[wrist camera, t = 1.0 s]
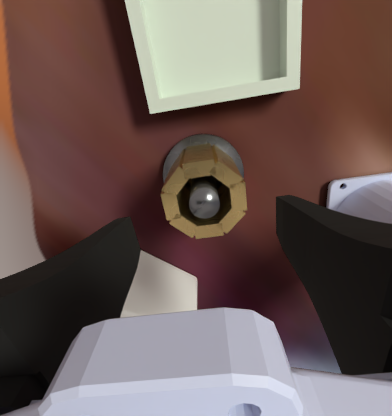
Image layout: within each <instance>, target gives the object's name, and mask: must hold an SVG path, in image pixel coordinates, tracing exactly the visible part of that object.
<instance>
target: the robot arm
mask: <svg viewBox="0 0 392 416" xmlns="http://www.w3.org/2000/svg"><path fill="white" fill-rule="evenodd" d="M343 183H344V185H343V187H341V188H340V185H341V184H343ZM276 233H277V236H278V239H279V241H280V244H281V246H282V249H283V251H284V252H285V254H286V256H287V258H288V259H289V261H290V263H291V264H292V266H293V268H294V269H295V271H296V273H297V274H298V276H299V278H300V280H301V281H302V283H303V285H304V286H305V288H306V290H307V292H308V294H309V296H310V298H311V300H312V303H313V305H314V307H315V309H316V311H317V314H318V316H319V318H320V321H321V323H322V325H323V328H324V330H325V332H326V335H327V337H328V340H329V342H330V345H331V347H332V350H333V352H334V355H335V357H336V360H337V362H338V365H339V367H340V370H341V373H342V374H338V373H331V372H324V371H316V370H309V369H302V368H294V367H290V365H289V362H288V359H287V356H286V354H285V351H284V348H283V345H282V342H281V339H280V336H279V334H278V332H277V330H276V327H275V325H274V323H273V322H272V321H270V320H269V319H267V318H265V317H263V316H262V315H260V314H258V313H256V312H255V311H253V310H250V309H240V308H228V307H220V308H211V309H201V310H191V311H182V312H172V313H162V314H153V315H143V316H133V317H123V318H120V316H121V313H122V310H123V306H124V303H125V301H126V298H127V295H128V292H129V290H130V287H131V284H132V281H133V279H134V276H135V273H136V270H137V267H138V262H139V257H140V251H141V250H140V246H139V243H138V240H137V237H136V233H135V230H134V227H133V224H132V221H131V217H124V218H118V219H116V220H114V221H112V222H110V223H109V224H107V225H106V226H104V227H102V228H101V229H99V230H98V231H96V232H95V233H93V234H92V235H90V236H89V237H87V238H85V239H84V240H82V241H80V242H79V243H77V244H76V245H74V246H72V247H71V248H69V249H67V250H65V251H64V252H62V253H60V254H58V255H56V256H54V257H52V258H50V259H48V260H46V261H44V262H42V263H39V264H37V265H35V266H32V267H30V268H28V269H26V270H23V271H21V272H18V273H16V274H13V275H10V276H8V277H5V278H2V279H0V416H392V172H390V173H382V174H375V175H368V176H361V177H353V178H346V179H339V180H334V181H332V182H330V184H329V186H328V195H327V206H326V208H325V207H323V206H320V205H317V204H314V203H312V202H309V201H306V200H304V199H301V198H298V197H295V196H292V195H285V196H278V197H276Z"/></svg>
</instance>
